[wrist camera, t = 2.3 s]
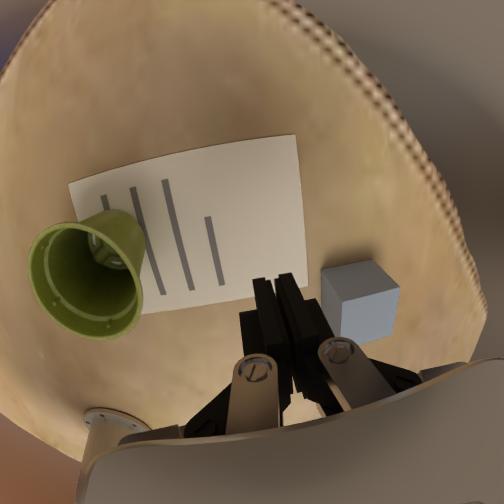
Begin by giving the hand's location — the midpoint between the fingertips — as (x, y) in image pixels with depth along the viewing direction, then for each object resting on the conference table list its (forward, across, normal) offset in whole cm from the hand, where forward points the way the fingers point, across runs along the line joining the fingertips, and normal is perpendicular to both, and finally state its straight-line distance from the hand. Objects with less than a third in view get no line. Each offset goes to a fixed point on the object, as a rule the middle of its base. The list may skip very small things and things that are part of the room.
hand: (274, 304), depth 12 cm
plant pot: (+14, +12, 0) cm, 19 cm away
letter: (+14, +5, +2) cm, 15 cm away
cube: (+14, -10, +10) cm, 20 cm away
